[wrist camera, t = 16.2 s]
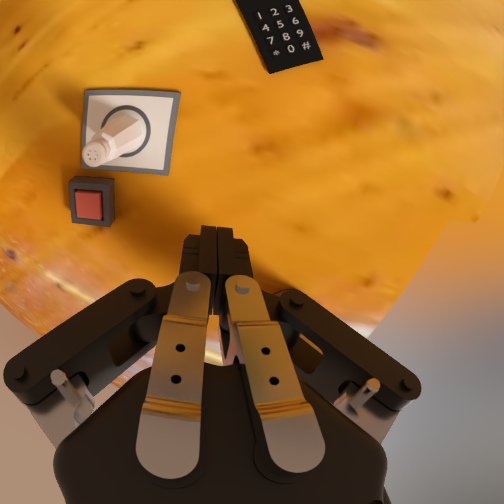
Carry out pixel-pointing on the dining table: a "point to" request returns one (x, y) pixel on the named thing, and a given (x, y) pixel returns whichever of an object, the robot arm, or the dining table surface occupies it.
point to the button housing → (93, 184)
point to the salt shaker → (112, 140)
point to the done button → (89, 204)
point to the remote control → (281, 33)
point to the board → (151, 122)
